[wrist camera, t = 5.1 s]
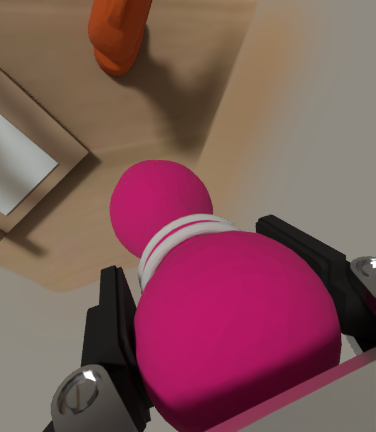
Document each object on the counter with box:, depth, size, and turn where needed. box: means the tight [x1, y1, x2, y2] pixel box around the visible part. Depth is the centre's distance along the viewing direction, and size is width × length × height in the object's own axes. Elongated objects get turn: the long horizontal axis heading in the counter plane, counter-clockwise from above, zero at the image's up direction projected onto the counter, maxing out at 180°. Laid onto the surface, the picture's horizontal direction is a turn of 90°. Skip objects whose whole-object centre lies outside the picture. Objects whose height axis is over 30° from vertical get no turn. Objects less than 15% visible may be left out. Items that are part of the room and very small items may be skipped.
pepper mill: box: [110, 160, 342, 432], centre depth 13 cm, size 7×7×20 cm
